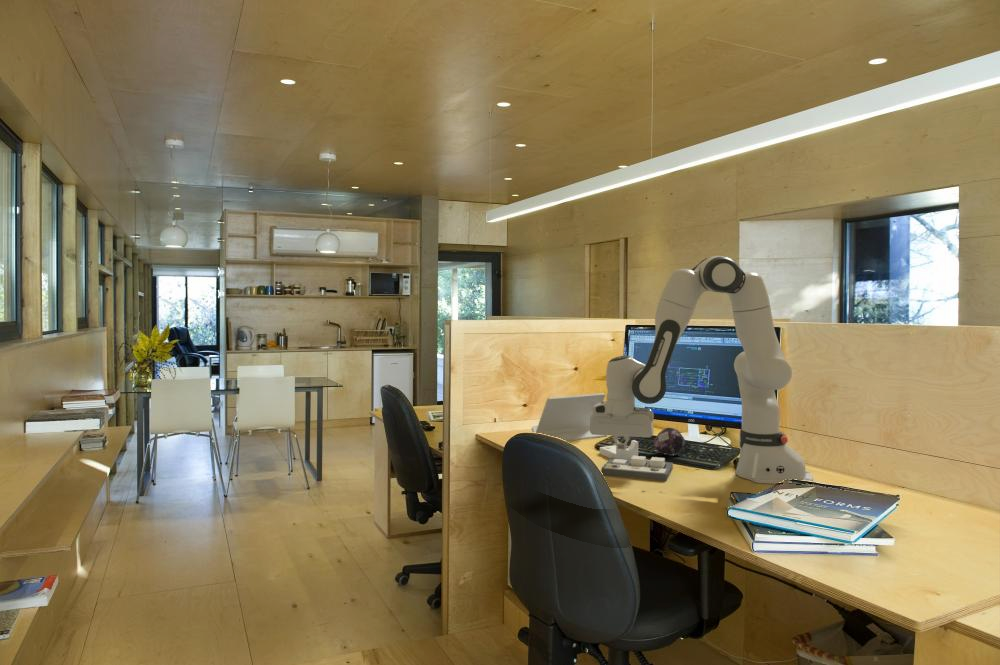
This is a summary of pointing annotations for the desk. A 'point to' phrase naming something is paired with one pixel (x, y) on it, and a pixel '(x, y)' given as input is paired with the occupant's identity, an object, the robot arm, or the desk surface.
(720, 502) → the desk surface
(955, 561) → the desk surface
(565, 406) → the tablet stand
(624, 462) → the button far
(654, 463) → the button near
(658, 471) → the button panel
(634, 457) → the button middle
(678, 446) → the mineral specimen
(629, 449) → the bracket
